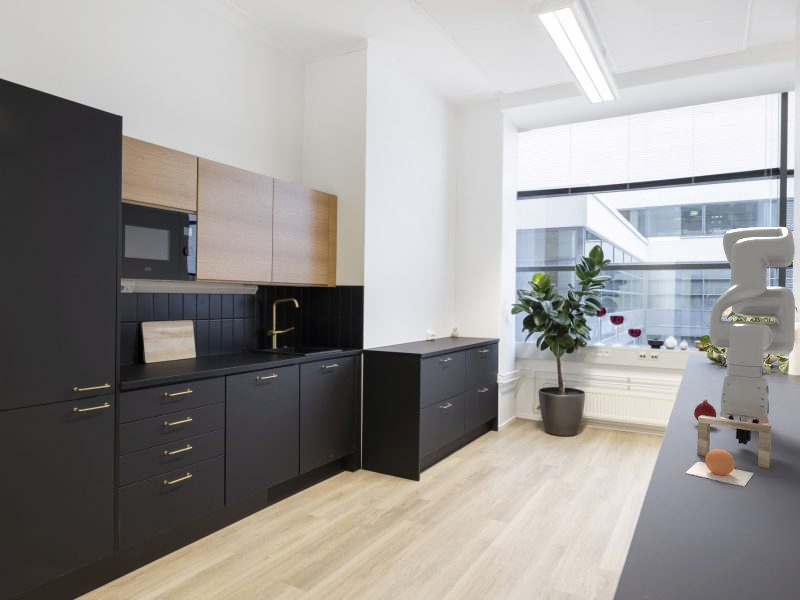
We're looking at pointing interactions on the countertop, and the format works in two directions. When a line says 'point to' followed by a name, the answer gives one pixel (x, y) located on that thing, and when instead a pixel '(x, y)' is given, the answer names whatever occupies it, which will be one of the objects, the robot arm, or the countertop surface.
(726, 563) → the countertop surface
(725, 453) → the ball
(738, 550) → the countertop surface
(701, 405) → the onion
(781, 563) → the countertop surface
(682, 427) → the countertop surface
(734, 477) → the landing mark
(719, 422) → the bridge
